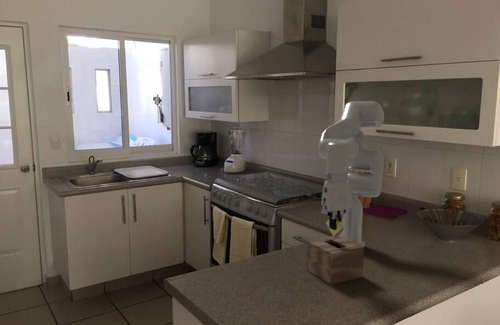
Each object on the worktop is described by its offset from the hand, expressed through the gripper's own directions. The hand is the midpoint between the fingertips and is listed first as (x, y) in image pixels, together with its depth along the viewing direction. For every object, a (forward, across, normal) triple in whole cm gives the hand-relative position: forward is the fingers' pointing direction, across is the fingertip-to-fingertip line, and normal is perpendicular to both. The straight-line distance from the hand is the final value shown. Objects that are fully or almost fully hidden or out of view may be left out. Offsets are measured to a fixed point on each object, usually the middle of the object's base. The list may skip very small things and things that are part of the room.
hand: (335, 228), depth 147 cm
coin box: (+17, 0, 0) cm, 17 cm away
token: (+1, 0, -2) cm, 2 cm away
